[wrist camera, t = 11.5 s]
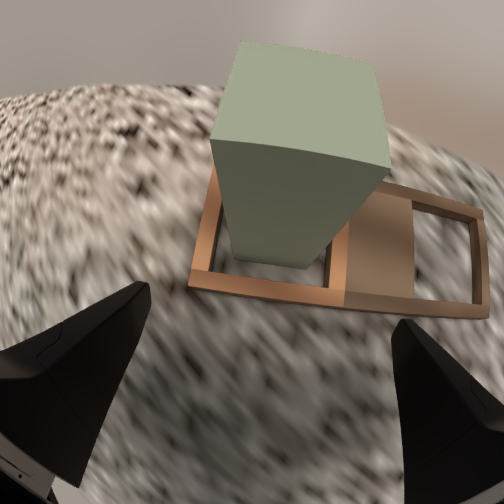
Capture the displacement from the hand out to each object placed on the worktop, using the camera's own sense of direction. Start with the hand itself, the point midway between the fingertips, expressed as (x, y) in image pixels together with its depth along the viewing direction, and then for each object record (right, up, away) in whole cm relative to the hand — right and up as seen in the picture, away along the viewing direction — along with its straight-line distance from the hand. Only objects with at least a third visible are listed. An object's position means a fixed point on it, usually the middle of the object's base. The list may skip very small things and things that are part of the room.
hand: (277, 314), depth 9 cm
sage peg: (+1, +3, +9) cm, 10 cm away
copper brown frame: (+7, +3, +9) cm, 12 cm away
